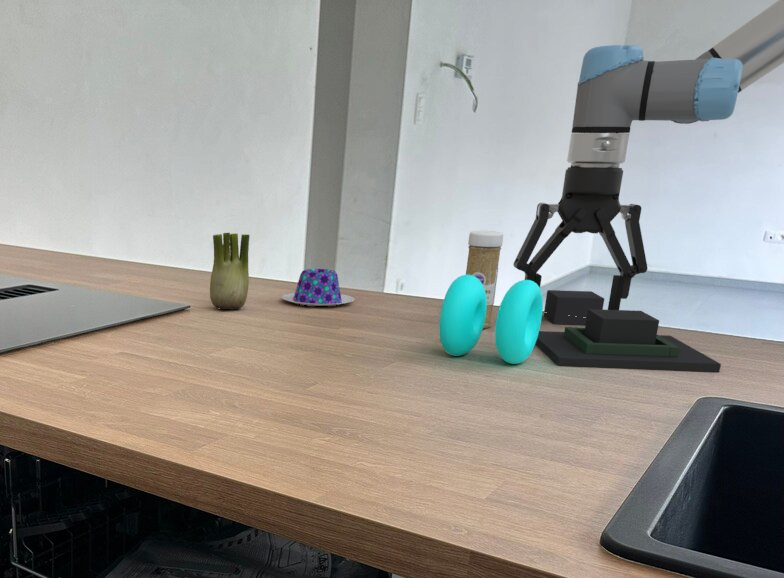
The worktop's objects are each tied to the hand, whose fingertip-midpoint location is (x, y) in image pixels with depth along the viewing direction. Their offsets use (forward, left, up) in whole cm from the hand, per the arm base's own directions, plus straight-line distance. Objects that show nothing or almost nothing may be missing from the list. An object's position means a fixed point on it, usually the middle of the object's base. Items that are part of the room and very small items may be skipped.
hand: (570, 319), depth 130 cm
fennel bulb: (+52, 0, 0) cm, 52 cm away
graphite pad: (0, 0, 0) cm, 0 cm away
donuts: (+17, +28, 0) cm, 33 cm away
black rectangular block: (0, +22, +1) cm, 22 cm away
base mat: (0, +22, 0) cm, 22 cm away
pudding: (+38, -9, 0) cm, 39 cm away
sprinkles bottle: (+15, +7, 0) cm, 17 cm away
